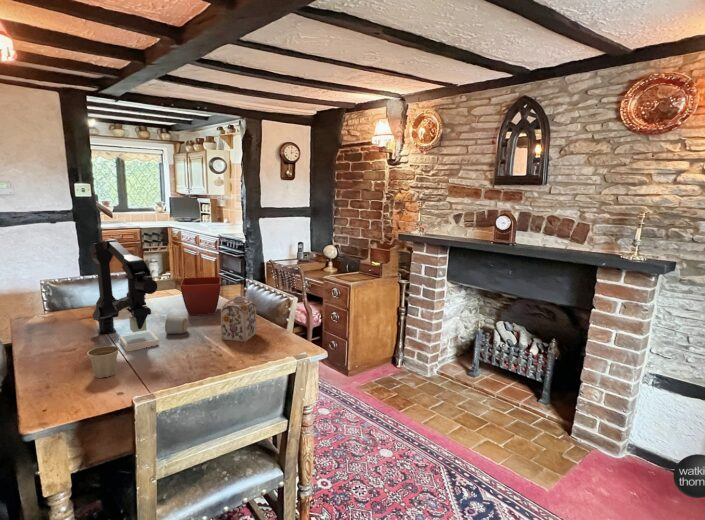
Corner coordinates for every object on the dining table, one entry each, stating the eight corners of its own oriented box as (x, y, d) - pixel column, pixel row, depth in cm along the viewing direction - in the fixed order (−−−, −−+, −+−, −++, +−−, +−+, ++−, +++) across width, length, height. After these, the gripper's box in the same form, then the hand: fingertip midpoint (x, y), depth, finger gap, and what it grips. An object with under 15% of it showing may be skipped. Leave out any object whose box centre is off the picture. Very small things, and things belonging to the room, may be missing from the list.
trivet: (120, 342, 172) (119, 336, 171) (151, 336, 179) (150, 330, 179) (126, 351, 163) (125, 345, 162) (158, 345, 170) (158, 338, 170)
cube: (130, 329, 170) (129, 317, 169) (143, 326, 173) (142, 315, 173) (132, 332, 166) (132, 320, 166) (146, 330, 170) (145, 318, 169)
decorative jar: (245, 342, 176) (245, 301, 173) (220, 340, 178) (219, 299, 175) (257, 333, 187) (257, 295, 184) (233, 331, 190) (233, 293, 187)
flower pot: (97, 368, 147) (96, 345, 145) (125, 368, 148) (124, 345, 146) (83, 380, 138) (81, 356, 136) (112, 380, 138) (111, 355, 137)
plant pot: (184, 307, 224) (183, 277, 221) (221, 306, 230) (220, 276, 227) (181, 318, 206) (179, 285, 203) (221, 316, 212) (220, 283, 209)
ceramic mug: (184, 335, 182) (183, 318, 181) (164, 336, 181) (164, 319, 180) (190, 328, 192) (189, 312, 191) (171, 328, 191) (171, 312, 190)
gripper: (109, 288, 169) (111, 324, 172) (118, 297, 155) (120, 337, 158) (139, 284, 176) (141, 320, 179) (150, 294, 162) (152, 332, 165)
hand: (138, 327), depth 170 cm, fingers closed on cube, 5 cm apart
